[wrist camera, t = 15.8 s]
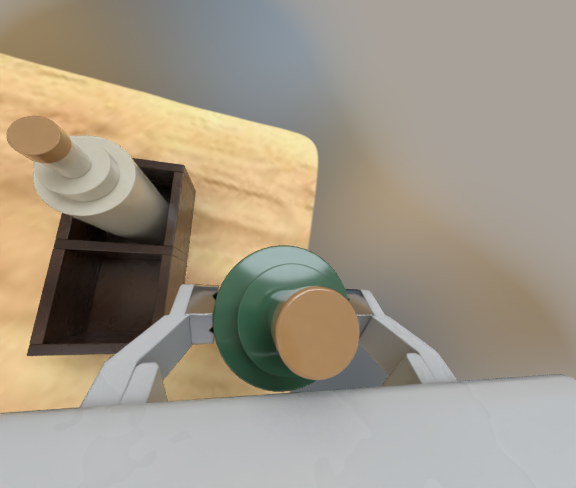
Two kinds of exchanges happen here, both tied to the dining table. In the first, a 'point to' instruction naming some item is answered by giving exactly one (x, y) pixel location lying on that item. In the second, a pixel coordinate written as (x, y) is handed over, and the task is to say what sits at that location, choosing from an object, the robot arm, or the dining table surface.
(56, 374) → the dining table surface
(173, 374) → the dining table surface
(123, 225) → the cream bottle
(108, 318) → the caddy
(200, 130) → the dining table surface
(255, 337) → the green bottle
